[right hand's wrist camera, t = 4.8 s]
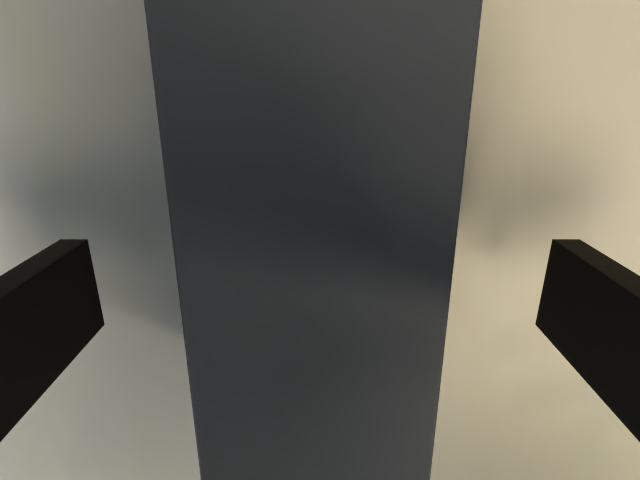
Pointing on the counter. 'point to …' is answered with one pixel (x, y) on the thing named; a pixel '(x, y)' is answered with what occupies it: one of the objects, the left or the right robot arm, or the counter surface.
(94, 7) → the counter surface
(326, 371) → the post
